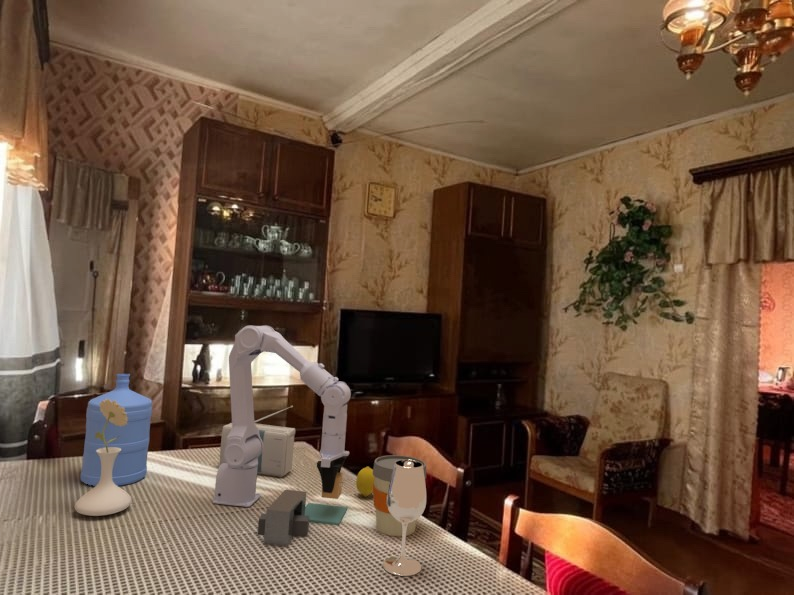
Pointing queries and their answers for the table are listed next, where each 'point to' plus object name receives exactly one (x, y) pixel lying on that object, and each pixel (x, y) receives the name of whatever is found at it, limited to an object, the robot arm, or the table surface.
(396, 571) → the wineglass
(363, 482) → the lemon
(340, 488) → the plug
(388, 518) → the reusable coffee cup
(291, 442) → the stereo radio cassette player
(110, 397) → the water jug
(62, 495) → the table surface
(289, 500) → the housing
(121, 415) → the flower in vase
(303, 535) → the push rod
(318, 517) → the mat
